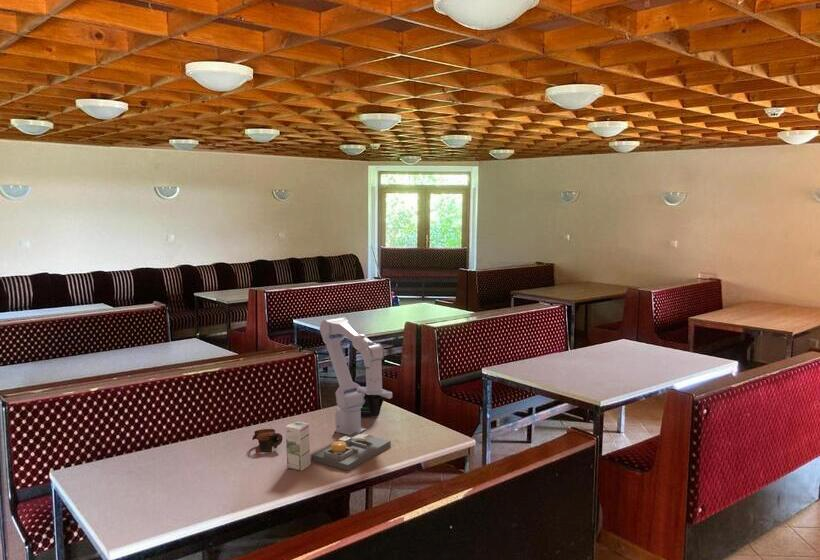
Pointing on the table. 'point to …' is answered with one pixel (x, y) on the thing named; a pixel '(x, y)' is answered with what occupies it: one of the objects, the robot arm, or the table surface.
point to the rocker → (362, 437)
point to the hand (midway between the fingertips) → (375, 414)
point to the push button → (338, 447)
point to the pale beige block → (346, 440)
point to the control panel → (351, 452)
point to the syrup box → (298, 445)
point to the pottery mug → (267, 440)
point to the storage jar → (362, 382)
